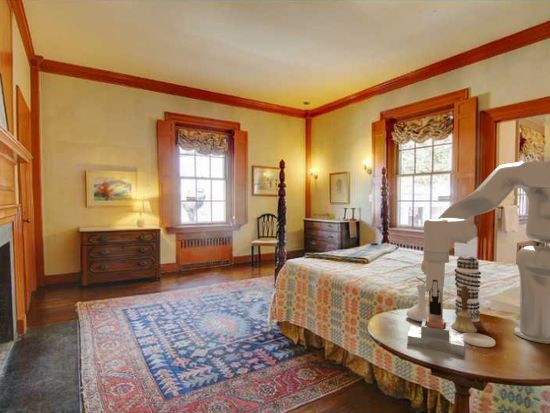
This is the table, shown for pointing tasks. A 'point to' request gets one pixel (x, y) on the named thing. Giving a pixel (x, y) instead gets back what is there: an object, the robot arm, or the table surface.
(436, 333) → the base
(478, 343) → the coaster
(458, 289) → the decorative candle
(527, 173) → the robot arm
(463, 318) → the hand bell
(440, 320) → the pale wood brick
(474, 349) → the table surface
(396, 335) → the table surface
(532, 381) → the table surface
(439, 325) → the button
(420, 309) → the flower in vase
